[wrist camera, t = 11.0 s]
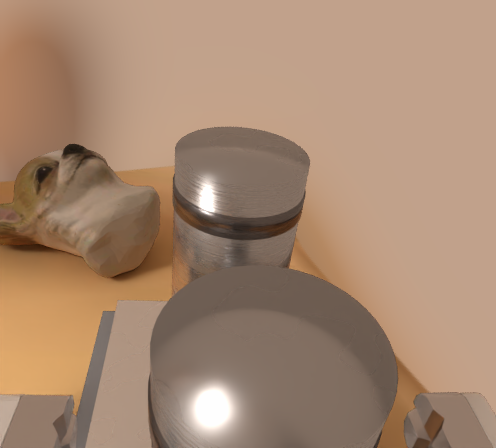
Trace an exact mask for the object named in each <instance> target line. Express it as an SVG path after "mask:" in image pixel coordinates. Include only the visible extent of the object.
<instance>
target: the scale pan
mask: <svg viewBox="0 0 496 448" xmlns="http://www.w3.org/2000/svg"><path fill="white" fill-rule="evenodd" d="M167 302H168V301H132V300H118V302H117V307H116V311H115V316H114V320H113V325H112V329H111V334H110V338H109V343H108V347H107V352H106V356H105V361H104V365H103V370H102V374H101V379H100V383H99V388H98V392H97V397H96V401H95V406H94V410H93V415H92V419H91V424H90V428H89V433H88V437H87V442H86V446H85V448H152V447H151V438H150V431H149V423H148V381H149V375H150V341H151V336H152V330H153V328H154V325H155V322H156V320H157V317H158V316H159V314H160V312H161V310H162V309H163V307H164V306H165V305H166V303H167Z"/></svg>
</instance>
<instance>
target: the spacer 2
mask: <svg viewBox="0 0 496 448" xmlns="http://www.w3.org/2000/svg"><path fill="white" fill-rule="evenodd" d="M397 384H398V373H397V364H396V360H395V355H394V352H393V350H392V347H391V344H390V342H389V340H388V338H387V336H386V335H385V333H384V331H383V329H382V328H381V326H380V325H379V324H378V322H377V321H376V319H374V317H373V316H372V315H371V314H370V313H369V312H368V311H367V309H365V308H364V307H363V306H362V305H361V304H360V303H359V302H358V301H357V300H355V299H354V298H353V297H351V296H350V295H349V294H347V293H346V292H344V291H343V290H341V289H339V288H338V287H336V286H334V285H332V284H331V283H329V282H327V281H325V280H322V279H320V278H318V277H315V276H313V275H310V274H307V273H304V272H300V271H297V270H292V269H288V268H283V267H276V266H264V265H247V266H238V267H231V268H226V269H222V270H218V271H215V272H212V273H209V274H207V275H204V276H202V277H199V278H198V279H196V280H194V281H192V282H190V283H189V284H187V285H186V286H184V287H183V288H182V289H180V290H179V291H178V292H177V293H176V294H175V295H174V296H173V297H172V298H170V300H169V301H168V302H167V303H166V305H165V306H164V307H163V309H162V310H161V312H160V314H159V316H158V317H157V320H156V322H155V325H154V328H153V330H152V336H151V341H150V375H149V381H148V423H149V431H150V438H151V447H152V448H377V446H378V443H379V440H380V436H381V433H382V428H383V426H384V424H385V422H386V419H387V417H388V415H389V413H390V411H391V409H392V406H393V403H394V400H395V396H396V393H397Z"/></svg>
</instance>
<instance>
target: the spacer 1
mask: <svg viewBox="0 0 496 448" xmlns="http://www.w3.org/2000/svg"><path fill="white" fill-rule="evenodd" d="M309 166H310V160H309V157H308V155H307V153H306V152H305V151H304V150H303V149H302V148H301V147H300V146H298V145H297V144H295V143H294V142H292V141H290V140H288V139H286V138H284V137H281V136H279V135H276V134H273V133H270V132H266V131H261V130H257V129H250V128H242V127H214V128H207V129H202V130H198V131H195V132H192V133H190V134H187V135H186V136H184V137H183V138H181V139H180V140H179V141H178V143H177V145H176V147H175V174H174V177H173V206H174V230H173V277H172V297H173V296H174V295H175V294H176V293H177V292H178V291H179V290H180V289H182V288H183V287H184V286H186V285H187V284H189V283H190V282H192V281H194V280H196V279H198V278H199V277H202V276H204V275H207V274H209V273H212V272H215V271H218V270H222V269H226V268H231V267H238V266H247V265H264V266H276V267H283V268H288V269H289V265H290V260H291V255H292V250H293V245H294V240H295V235H296V231H297V225H298V221H299V219H300V217H301V213H302V208H303V203H304V199H305V186H306V181H307V176H308V171H309Z"/></svg>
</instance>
